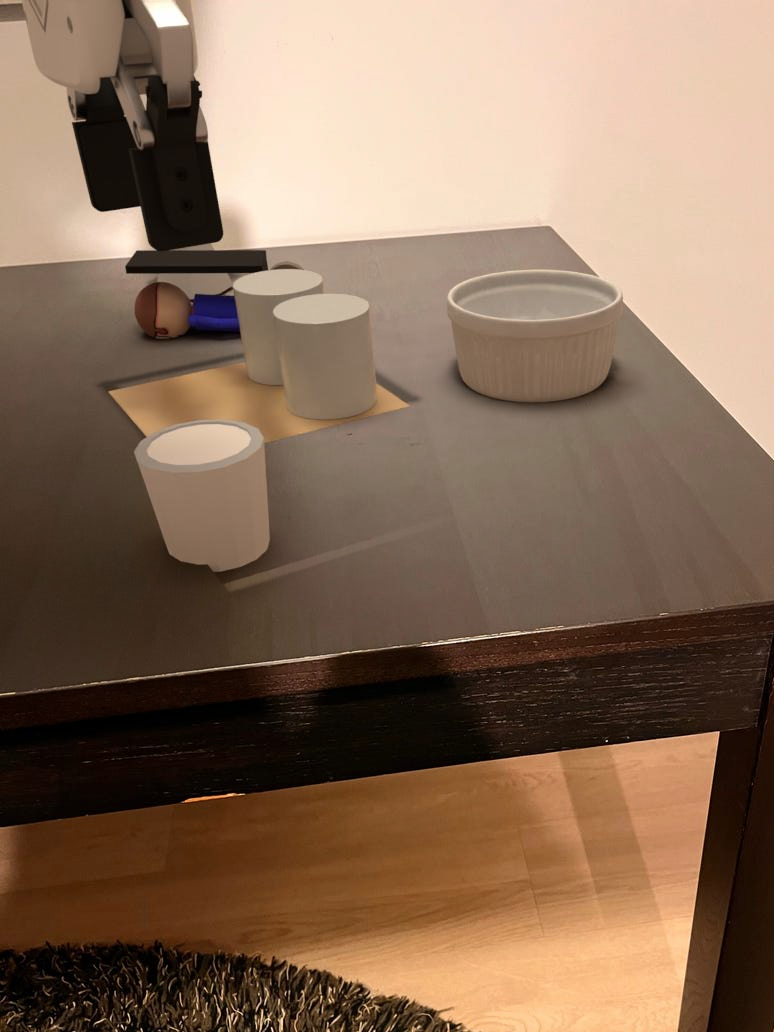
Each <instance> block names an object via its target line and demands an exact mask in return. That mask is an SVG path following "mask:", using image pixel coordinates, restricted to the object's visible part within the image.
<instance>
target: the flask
mask: <svg viewBox="0 0 774 1032" xmlns="http://www.w3.org/2000/svg"><path fill="white" fill-rule="evenodd" d="M174 250H215V248H214V247H213V243H210V244H204V245H198V246H192V247H186V248H180V249H174ZM156 282H167V283H171V284H173V285H175V286H177V287H179V288H180V289H181V290H183V291H184V292H185V294H186V295H187V296H188V298H189V300H194V296H195V294H209V295H221V294H222V293H223V292H225V291H227V290H228V289H230V288H231V287H233V283H234V282H233V281H232V279H231V277H230V275H229V273H175V274H157V279H156Z"/></svg>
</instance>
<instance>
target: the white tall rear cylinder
mask: <svg viewBox="0 0 774 1032" xmlns="http://www.w3.org/2000/svg"><path fill="white" fill-rule="evenodd" d="M232 283H233V286H232V290H233V296H234V297H235V303H236V309H237V316H238V322H239V328H240V332H239V333H240V340H241V345H242V352H243V359H244V362H245V365H246V371H247V376H248V377H249V378H250V379H251V380H252V381H254V382H257V383H260V384H265V385H273V386H283V381H282V374H281V367H280V359H279V352H278V345H277V338H276V331H275V324H274V317H273V310H274V308H275V307H276V306H277V305H279V304H280V303H282V302H284V301H287V300H290V299H293V298H297V297H301V296H307V295H314V294H325V289H324V288H325V286H324V279H323V277H322V275H320V274H319V273H317V272H314V271H311V270H306V269H304V270H298V269H277V270H270V269H268V271H261V272H256V273H248V274H246V275H243V276H240V277H239V278H237V279H236V280H235V281H234V282H232Z"/></svg>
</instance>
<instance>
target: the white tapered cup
mask: <svg viewBox="0 0 774 1032" xmlns="http://www.w3.org/2000/svg"><path fill="white" fill-rule="evenodd" d="M265 450H266V449H265V443H264V437H263V436H262V434H261V433H260V431H259V429H257V428H255V427H253V426H251V425H248V424H246V423H244V422H238V421H231V420H224V419H222V420H198V421H193V422H187V423H181V424H176V425H173V426H170V427H168V428H165V429H162V430H159V431H156V432H154V433H153V434H151V435H150V436H148V437H146V436H145V438H143V439H141V441H140V440H139V443H138V444H137V446H136V447H135V449H134V451H133V454H134V456H135V459H136V462H137V465H138V468H139V471H140V473H141V476H142V480H143V482H144V485H145V488H146V492H147V494H148V497H149V500H150V503H151V506H152V508H153V512H154V514H155V517H156V520H157V523H158V525H159V529H160V531H161V532H160V533H161V535H162V538H163V542H164V543H165V546H166V548H167V552H168V554H169V555H170V556H172V557H173V558H174V559H177V560H178V561H179V562H182V563H188V564H193V565H200V566H202V565H203V566H204V565H207V566H208V567H209V568H210V569H211V570H210V571H212V572H214V573H218V572H219V573H221V572H225V571H228V570H229V571H230V570H233V569H238V568H241V567H243V566H245V565H248V564H250V563H252V562H254V561H256V560H258V559H259V558H260V557H261V556H262V555H263V554H264V553H265V552H266V551H267V550H268V548H269V545H270V541H271V537H270V536H271V535H270V534H271V533H270V520H269V517H270V516H269V503H268V486H267V485H268V484H267V469H266V451H265Z"/></svg>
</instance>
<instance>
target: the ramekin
mask: <svg viewBox="0 0 774 1032" xmlns="http://www.w3.org/2000/svg"><path fill="white" fill-rule="evenodd" d="M446 298H447V299H446V313H447V317H448V318H449V320H450V321H451V328H452V336H453V342H454V343H453V344H454V348H455V349H454V350H455V355H456V360H457V365H458V366H457V367H458V371H459V374H460V377H461V379H462V381H463V382H464V384H465V385H466V386H467V387H469V388H470V389H471V390H473V391H474V392H476V393H478V394H480V395H483V396H486V397H489V398H492V399H497V400H501V401H509V402H517V403H550V402H557V401H558V402H559V401H564V400H565V401H566V400H569V399H574V398H578V397H581V396H583V395H586V394H589V393H591V392H592V391H594V390H596V389H598V387H600V386H601V385H602V384H603V383H604V382H605V380H606V379H607V377H608V375H609V372H610V369H611V365H612V360H613V355H614V349H615V344H616V338H617V330H618V323H619V318H620V317H621V315H622V314H623V308H624V295H623V291H622V289H621V288H620V287H619V286H618V285H617V284H616V283H614V282H613V281H611V280H609V279H606V278H603V277H600V276H597V275H594V274H589V273H584V272H583V273H582V272H577V271H572V270H571V271H569V270H561V269H559V270H558V269H524V270H523V269H520V270H507V271H500V272H499V271H498V272H494V273H488V274H483V275H478V276H475V277H472V278H468V279H467V280H463V281H462V282H460V283H458V284H455V285H454V286H452V288H451V289H450V290H449V292H448V293H447V297H446Z"/></svg>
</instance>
